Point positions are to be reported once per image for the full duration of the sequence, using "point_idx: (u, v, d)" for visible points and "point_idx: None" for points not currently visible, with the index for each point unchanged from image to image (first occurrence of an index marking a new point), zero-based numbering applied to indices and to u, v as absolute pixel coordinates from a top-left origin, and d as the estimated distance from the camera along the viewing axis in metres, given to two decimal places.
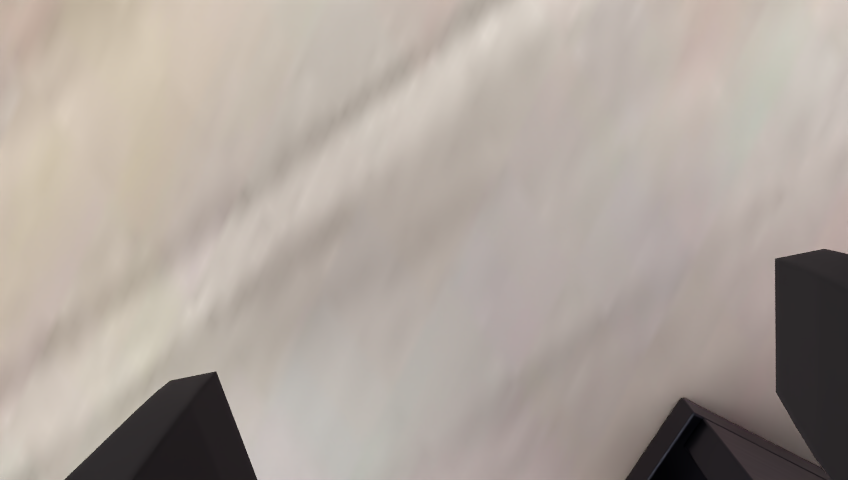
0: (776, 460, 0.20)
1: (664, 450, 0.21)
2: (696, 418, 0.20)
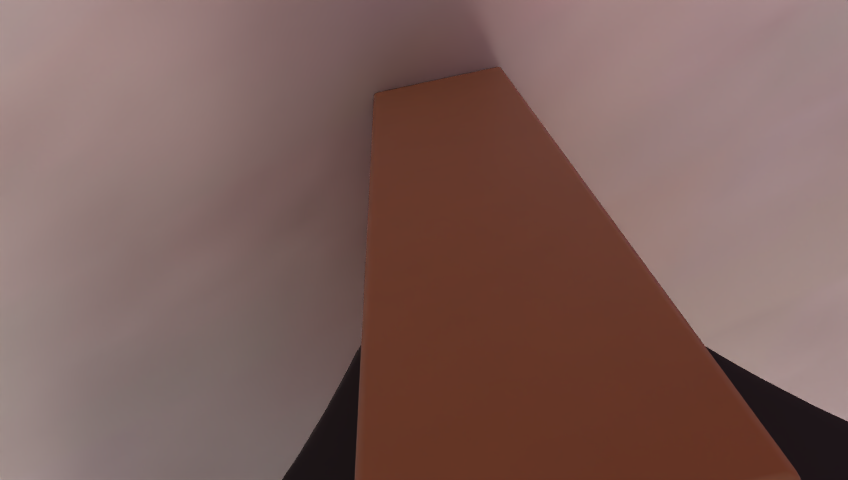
0: None
1: None
2: None
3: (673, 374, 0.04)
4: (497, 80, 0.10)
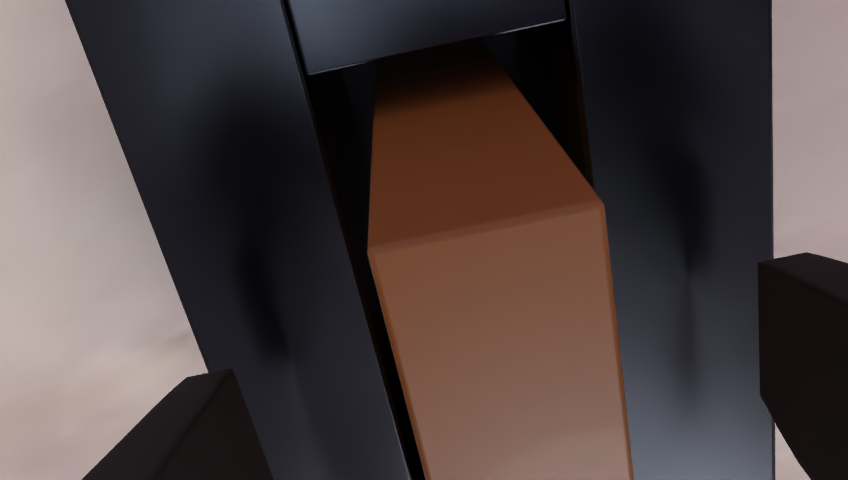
0: None
1: None
2: None
3: (550, 173, 0.07)
4: None
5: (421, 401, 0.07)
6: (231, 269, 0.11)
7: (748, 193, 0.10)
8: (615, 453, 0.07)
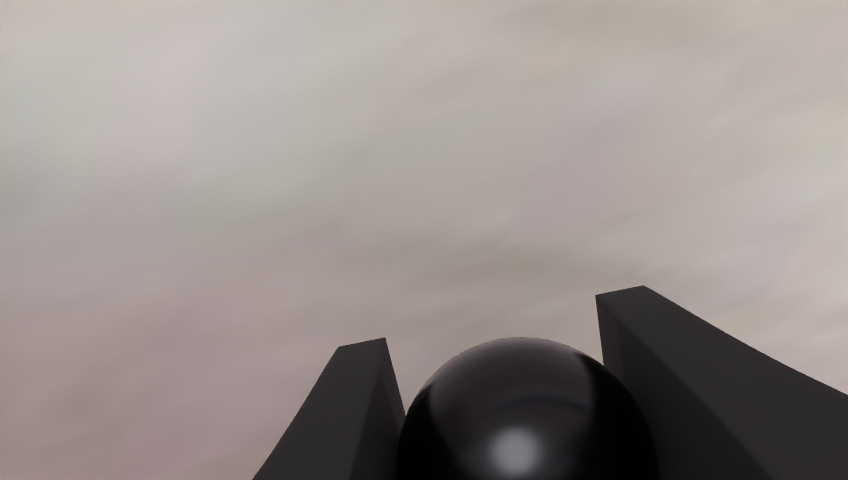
0: None
1: None
2: None
3: None
4: None
5: None
6: None
7: None
8: None
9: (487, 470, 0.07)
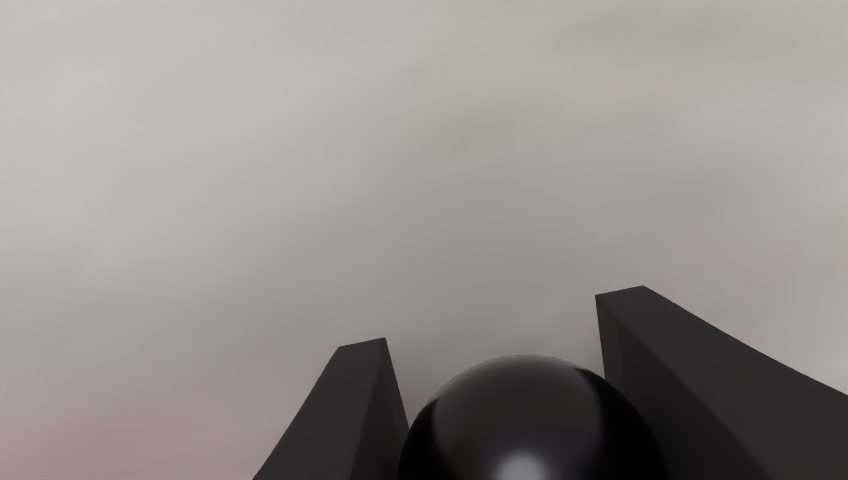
0: None
1: None
2: None
3: None
4: None
5: None
6: None
7: None
8: None
9: (477, 422, 0.07)
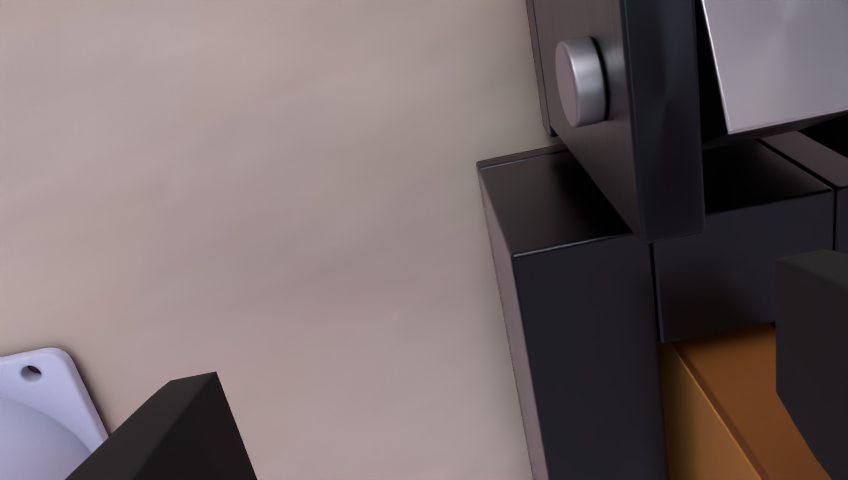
0: None
1: None
2: None
3: None
4: None
5: None
6: None
7: None
8: None
9: None
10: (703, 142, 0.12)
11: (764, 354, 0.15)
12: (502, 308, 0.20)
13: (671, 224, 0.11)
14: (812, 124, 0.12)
